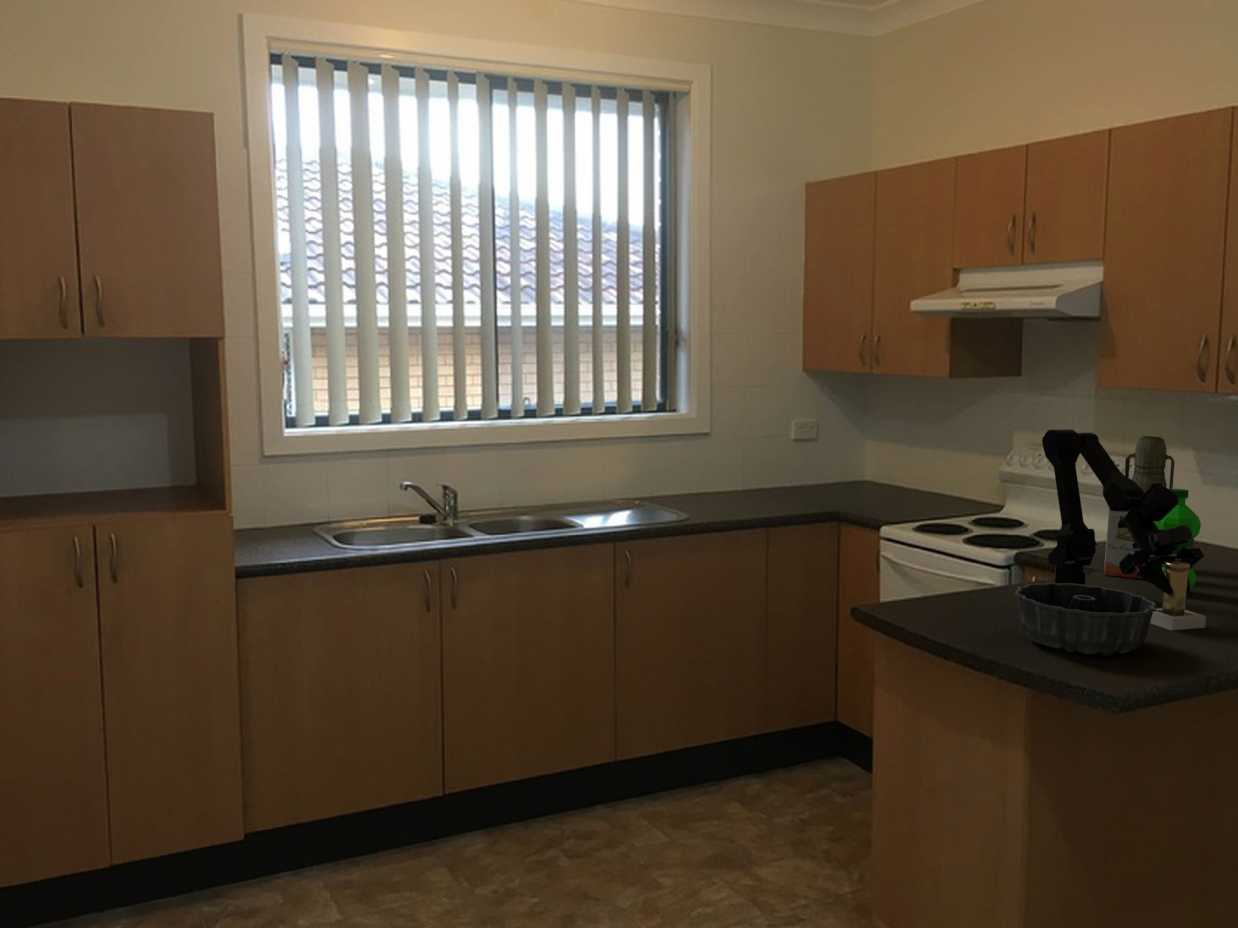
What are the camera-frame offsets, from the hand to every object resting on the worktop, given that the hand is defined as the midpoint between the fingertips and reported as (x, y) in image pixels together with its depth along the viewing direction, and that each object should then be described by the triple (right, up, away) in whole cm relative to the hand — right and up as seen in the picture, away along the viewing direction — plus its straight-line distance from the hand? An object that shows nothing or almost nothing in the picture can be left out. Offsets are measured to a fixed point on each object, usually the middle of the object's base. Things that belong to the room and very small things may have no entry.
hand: (1179, 593), depth 254 cm
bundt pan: (-27, -9, -16) cm, 33 cm away
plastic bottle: (+14, -3, +33) cm, 36 cm away
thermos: (+19, 0, +63) cm, 66 cm away
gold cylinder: (-1, -6, +2) cm, 7 cm away
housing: (-1, -7, +2) cm, 7 cm away
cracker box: (+12, -1, +51) cm, 52 cm away
